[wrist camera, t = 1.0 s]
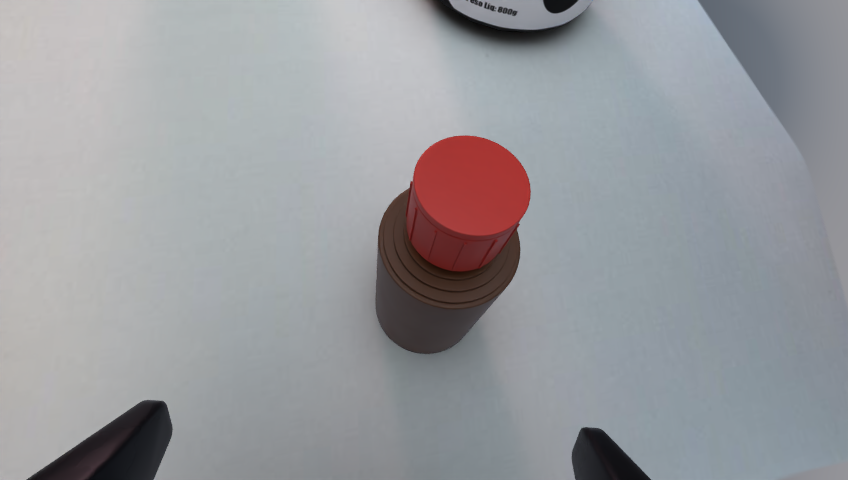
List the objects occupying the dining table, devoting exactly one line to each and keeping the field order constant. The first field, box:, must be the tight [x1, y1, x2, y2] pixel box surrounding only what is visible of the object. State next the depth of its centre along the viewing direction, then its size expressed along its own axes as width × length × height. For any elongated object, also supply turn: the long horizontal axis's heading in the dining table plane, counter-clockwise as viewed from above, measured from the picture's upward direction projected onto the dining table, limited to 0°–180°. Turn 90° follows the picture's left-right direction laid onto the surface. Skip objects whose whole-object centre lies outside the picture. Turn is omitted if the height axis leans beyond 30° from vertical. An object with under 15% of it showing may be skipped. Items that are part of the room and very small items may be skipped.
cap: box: [405, 136, 531, 271], centre depth 15 cm, size 4×4×3 cm
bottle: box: [376, 188, 520, 354], centre depth 20 cm, size 6×6×13 cm
